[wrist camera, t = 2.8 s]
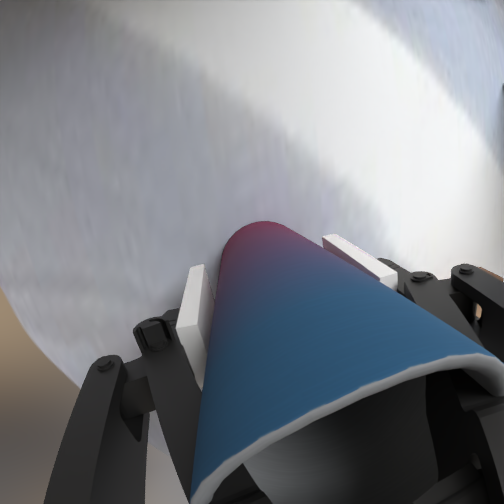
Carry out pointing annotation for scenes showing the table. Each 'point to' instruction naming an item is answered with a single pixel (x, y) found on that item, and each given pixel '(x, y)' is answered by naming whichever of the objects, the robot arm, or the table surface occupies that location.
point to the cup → (321, 377)
